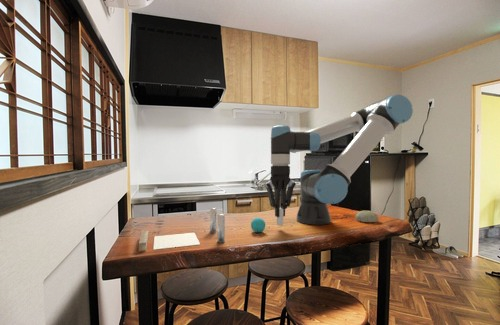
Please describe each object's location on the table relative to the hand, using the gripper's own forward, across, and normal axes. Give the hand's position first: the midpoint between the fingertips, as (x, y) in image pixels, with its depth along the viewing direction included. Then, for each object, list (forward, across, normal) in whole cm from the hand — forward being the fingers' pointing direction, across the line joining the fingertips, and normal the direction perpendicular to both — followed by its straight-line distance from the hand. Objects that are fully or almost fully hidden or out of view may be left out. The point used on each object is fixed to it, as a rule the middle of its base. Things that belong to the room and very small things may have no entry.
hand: (280, 224), depth 95 cm
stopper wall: (+2, +49, 0) cm, 49 cm away
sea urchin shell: (+2, -44, 0) cm, 44 cm away
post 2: (+2, +25, +6) cm, 26 cm away
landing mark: (+2, +39, 0) cm, 39 cm away
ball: (-1, +9, 0) cm, 9 cm away
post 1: (+2, +25, -6) cm, 26 cm away
